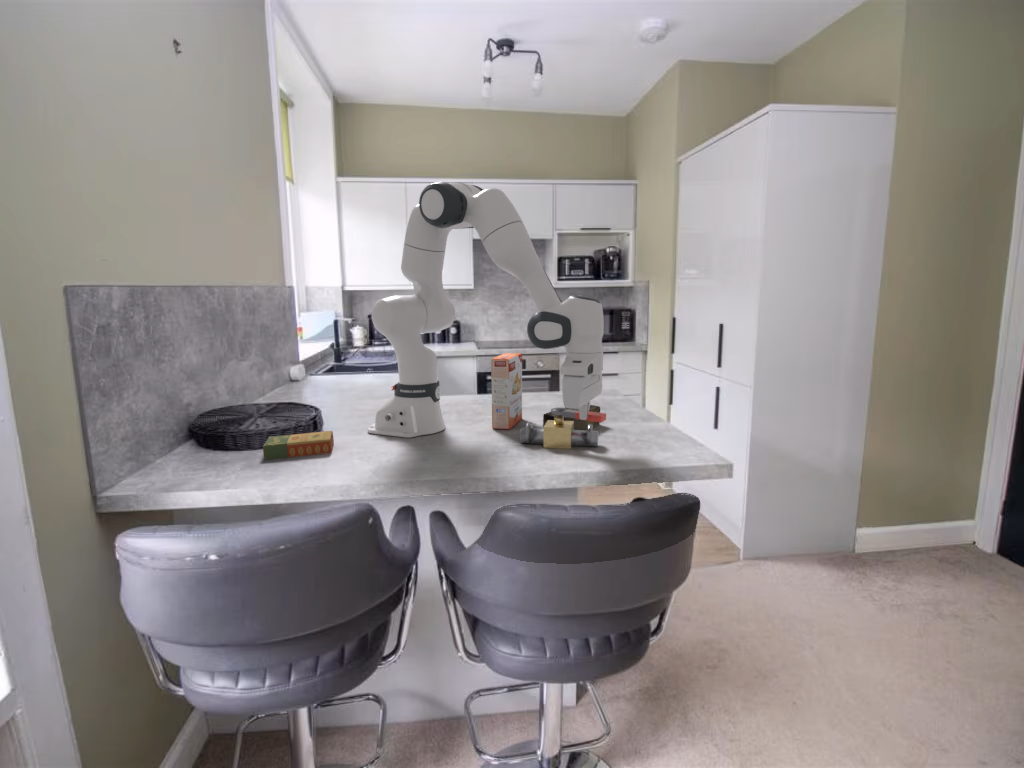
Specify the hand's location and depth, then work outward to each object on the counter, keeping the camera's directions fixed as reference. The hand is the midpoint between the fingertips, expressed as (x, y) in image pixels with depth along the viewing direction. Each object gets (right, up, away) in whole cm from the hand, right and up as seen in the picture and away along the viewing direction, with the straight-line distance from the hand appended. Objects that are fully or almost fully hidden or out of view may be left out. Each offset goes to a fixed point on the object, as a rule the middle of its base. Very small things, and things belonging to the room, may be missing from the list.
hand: (583, 418), depth 127 cm
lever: (-1, 0, +4) cm, 4 cm away
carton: (-73, -9, +7) cm, 73 cm away
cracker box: (-19, -4, +29) cm, 35 cm away
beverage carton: (0, -5, +22) cm, 22 cm away
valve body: (-5, -7, +8) cm, 12 cm away
